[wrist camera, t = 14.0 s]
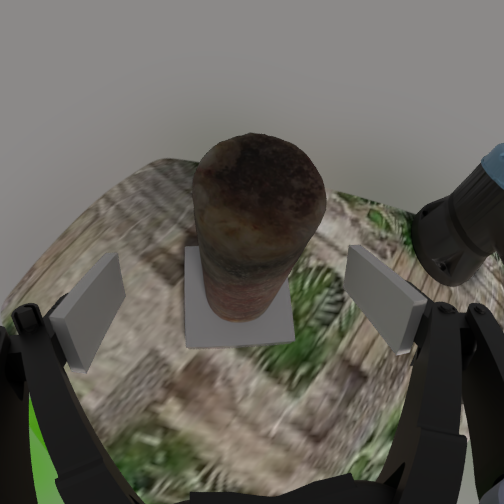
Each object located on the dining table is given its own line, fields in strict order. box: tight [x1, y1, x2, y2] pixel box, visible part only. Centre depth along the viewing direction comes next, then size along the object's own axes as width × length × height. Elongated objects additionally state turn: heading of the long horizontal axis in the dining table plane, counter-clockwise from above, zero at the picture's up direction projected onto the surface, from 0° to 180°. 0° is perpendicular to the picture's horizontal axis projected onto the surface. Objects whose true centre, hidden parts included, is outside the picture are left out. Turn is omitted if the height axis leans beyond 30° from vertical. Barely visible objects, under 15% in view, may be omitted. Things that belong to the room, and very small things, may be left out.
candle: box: [192, 133, 327, 323], centre depth 23 cm, size 8×7×20 cm
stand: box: [185, 246, 295, 349], centre depth 33 cm, size 12×12×3 cm
